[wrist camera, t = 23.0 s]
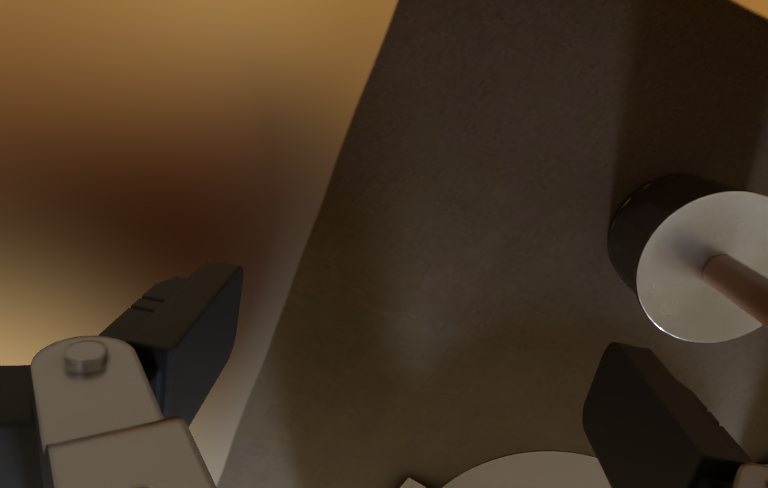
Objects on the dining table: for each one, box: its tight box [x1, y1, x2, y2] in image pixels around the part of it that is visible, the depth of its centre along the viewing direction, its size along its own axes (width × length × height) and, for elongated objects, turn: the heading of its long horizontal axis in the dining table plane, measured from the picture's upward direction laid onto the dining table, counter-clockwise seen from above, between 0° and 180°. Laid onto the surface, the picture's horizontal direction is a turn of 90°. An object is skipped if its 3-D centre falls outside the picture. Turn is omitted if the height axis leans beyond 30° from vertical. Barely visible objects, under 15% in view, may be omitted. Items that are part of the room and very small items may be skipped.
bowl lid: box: [634, 189, 768, 343], centre depth 34 cm, size 11×11×9 cm
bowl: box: [608, 174, 734, 294], centre depth 41 cm, size 10×10×7 cm
